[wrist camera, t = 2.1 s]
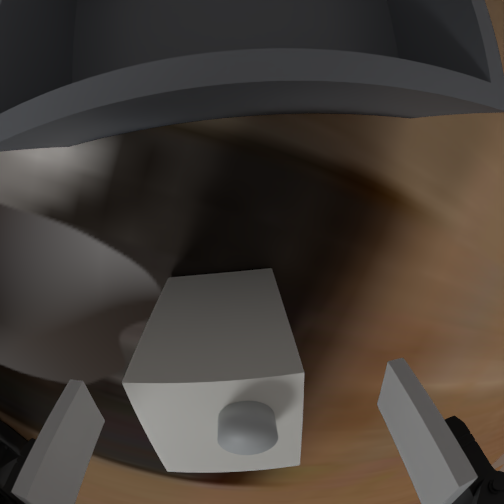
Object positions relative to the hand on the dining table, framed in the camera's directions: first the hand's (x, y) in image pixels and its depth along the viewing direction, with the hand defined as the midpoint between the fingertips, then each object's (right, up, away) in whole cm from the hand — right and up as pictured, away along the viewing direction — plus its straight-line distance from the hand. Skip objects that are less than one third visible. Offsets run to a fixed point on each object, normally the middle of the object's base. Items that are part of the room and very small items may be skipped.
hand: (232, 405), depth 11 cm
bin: (0, +20, +1) cm, 20 cm away
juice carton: (-1, +2, +7) cm, 7 cm away
